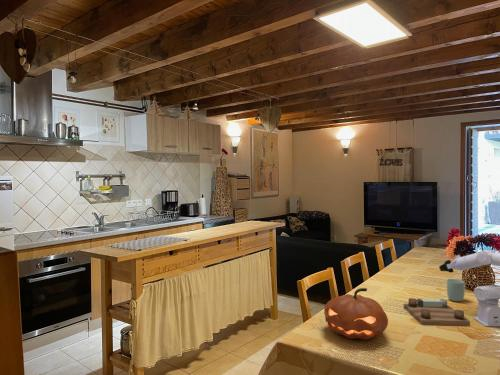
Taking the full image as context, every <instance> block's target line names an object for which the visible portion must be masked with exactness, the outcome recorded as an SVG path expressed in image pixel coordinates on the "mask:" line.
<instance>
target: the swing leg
mask: <svg viewBox="0 0 500 375" xmlns="http://www.w3.org/2000/svg"><path fill="white" fill-rule="evenodd" d="M416 300H417V305H418V306H419V307H447V305H448V300H447V299H443V298H442V299H441V298H440V299H423V298H417V299H416Z"/></svg>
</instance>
